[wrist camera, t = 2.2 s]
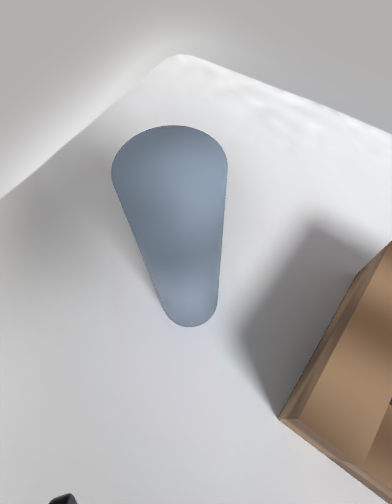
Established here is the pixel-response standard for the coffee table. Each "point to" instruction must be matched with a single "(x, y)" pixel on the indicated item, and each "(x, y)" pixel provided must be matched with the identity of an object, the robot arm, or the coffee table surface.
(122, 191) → the dowel
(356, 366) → the socket
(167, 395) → the coffee table surface
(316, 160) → the coffee table surface
